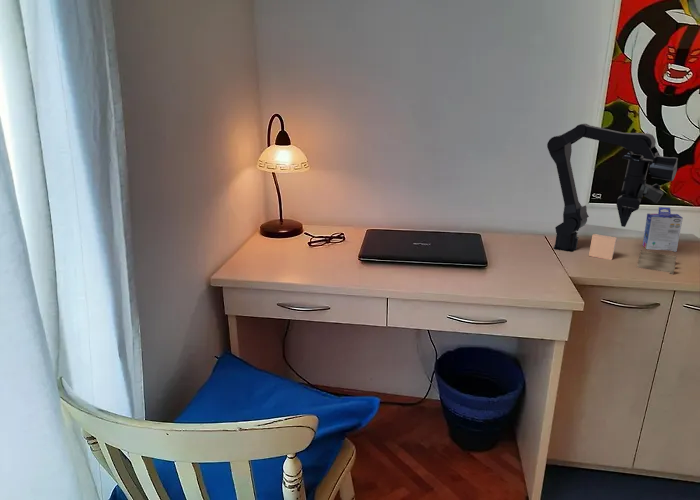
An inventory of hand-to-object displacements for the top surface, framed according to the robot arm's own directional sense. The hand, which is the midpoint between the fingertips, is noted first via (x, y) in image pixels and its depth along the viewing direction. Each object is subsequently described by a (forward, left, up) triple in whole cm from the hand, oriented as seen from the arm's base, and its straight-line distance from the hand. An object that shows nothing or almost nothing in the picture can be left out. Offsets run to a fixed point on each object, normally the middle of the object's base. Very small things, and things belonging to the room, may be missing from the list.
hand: (624, 223), depth 172 cm
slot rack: (+11, -1, -12) cm, 16 cm away
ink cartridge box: (+11, +19, -12) cm, 25 cm away
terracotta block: (-5, -1, -12) cm, 13 cm away
